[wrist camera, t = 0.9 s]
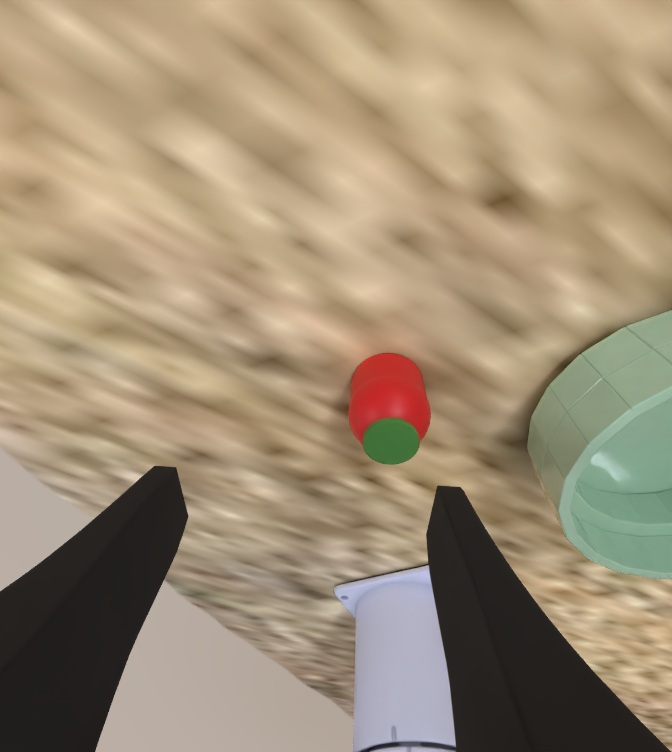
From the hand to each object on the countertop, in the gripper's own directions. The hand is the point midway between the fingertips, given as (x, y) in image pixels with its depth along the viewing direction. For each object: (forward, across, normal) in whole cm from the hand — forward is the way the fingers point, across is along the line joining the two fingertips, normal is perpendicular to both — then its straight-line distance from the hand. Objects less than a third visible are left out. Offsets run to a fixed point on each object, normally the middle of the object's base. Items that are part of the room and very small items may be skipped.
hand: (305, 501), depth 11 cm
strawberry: (+9, -3, +2) cm, 9 cm away
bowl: (+9, -16, +3) cm, 18 cm away
